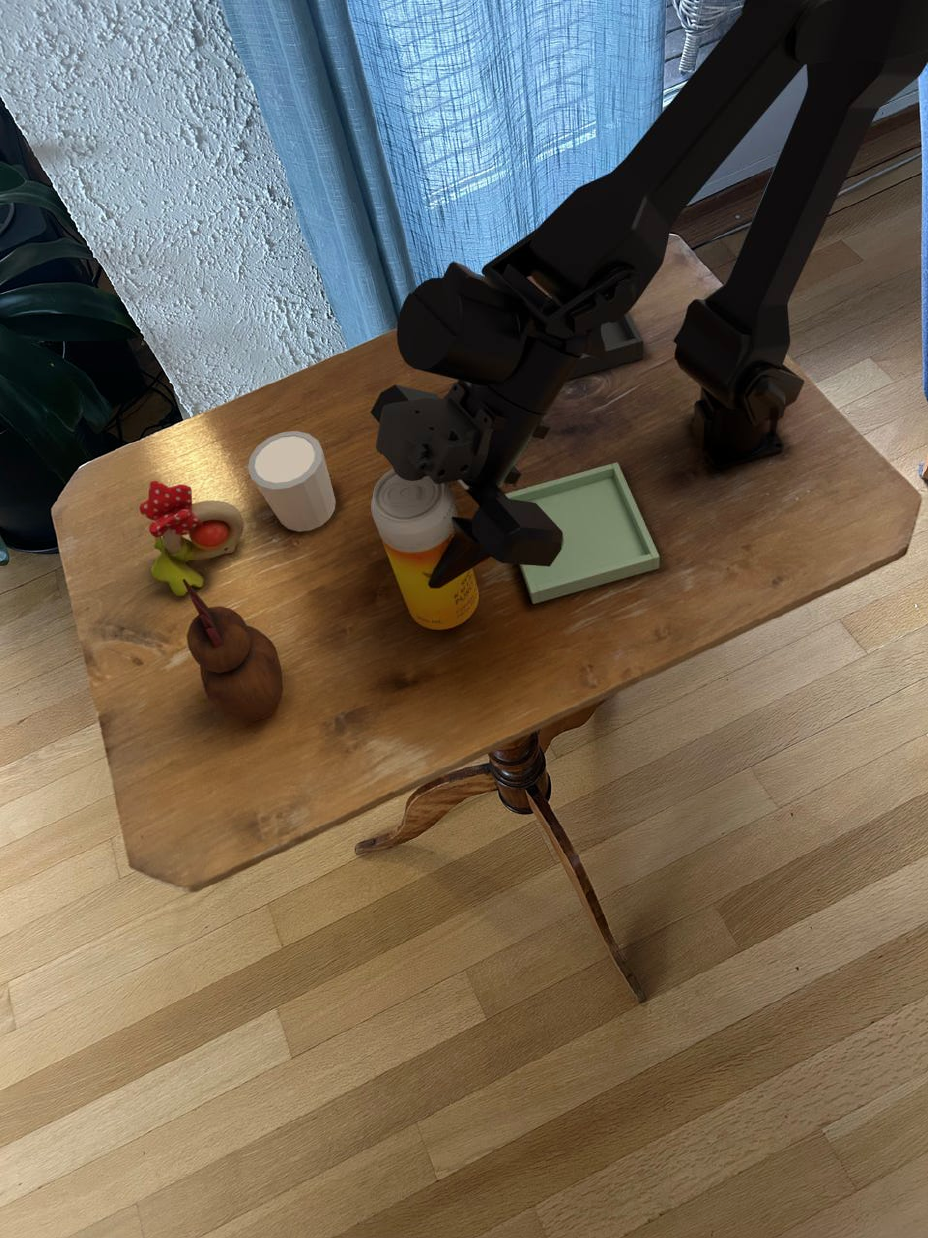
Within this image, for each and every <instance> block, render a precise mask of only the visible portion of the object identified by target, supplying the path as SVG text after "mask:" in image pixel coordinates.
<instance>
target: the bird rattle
mask: <svg viewBox="0 0 928 1238" xmlns="http://www.w3.org/2000/svg"><path fill="white" fill-rule="evenodd" d="M139 512H140V514H141V515H143V516H144V517H145V518H147V519H148V520H151V521H153V522H151V523H150V524H149V526H148V531H149V533H150V535H151V536H152V537H154V541H155V542H154V545H153V547H154V548H155V549H156V550H158V551H159V552H160V554H159V555H158V557H157V558H156V559H155V562H154V563H153V564H152V566H151V568H150V573H151V576H152V578H154V579H156V580H157V581H159V582H167V583H168V585H169V587H170V589H171V591H172V592H173V593H174V595H176V596H178V597H183V596H185V595H187V593H188V590H187V589H186V587H185V585H184V583H183V581H182V580H183V579H185V580H186V581H187V582H188V584H189V585H190V586H191V587H192V586H193V587H195V588H203V585H204V578H203V576H202V575H201V574H199V573H198V572H197V571H195V570H194V569H193V568H191V567H190V566H188V565H187V563H186V562H188V561H198V560H199V561H200V560H201V561H202V560H206V559H211V558H215V557H218V556H220V555H224V554H231V553H234V552H235V551H236V545H237V544H238V542H239V541H240V539H241V537H242V536H243V533H244V528H245V523H244V518H243V516H242V514H241V512H240V511H239V509H238V508H237V507H236V506H235V505H233V504H231V503H229V502H226V501H223V500H203V501H199V502H194V503H193V491H192V487H191V486H189V485H186V484H178V485H177V484H176V485H174V486H168V485H166V484H164V483H163V482H160V481H158V480H153V481H150V483H149V486H148V499H147V500H145V501H144V502H142V503H141V504H140V505H139ZM187 535H188V537H189V539H188V538H186V537H184V536H187Z"/></svg>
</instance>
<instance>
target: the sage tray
mask: <svg viewBox="0 0 928 1238" xmlns="http://www.w3.org/2000/svg"><path fill="white" fill-rule="evenodd" d="M504 494H505V495H506V496H507V497H508V498H509V499H512V500H519V501H527V502H534V503H537V504H538V506H539V507H540V508H541V509H542V510H543V511H544V512H545V513H546V514H547V515H548V516H549V518H550V519H551V520H552V521H553V522H554V523H555V524H556V525H557V526H558V527H559V528H560V529H561V531H562V532H563V540H564V543H563V547H562V550H561V551H560V553H559V554H558V555H557V557H556V558H555V560H554V561H553V563H552V564H551V566H550V567H548V566H534V565H520V564H518V565H519V568H520V571H521V573H522V577H523V579H524V583H525V585H526V588H527V592H528V594H529V598H530V600H531V602H532V605H534V604H538V603H539V604H540V603H542V602H545V601H549V600H553V599H556V598H559V597H562V596H566V595H570V594H574V593H577V592H580V591H584V590H589V589H591V588H595V587H599V586H602V585H606V584H609V583H612V582H616V581H619V580H623V579H626V578H630V577H633V576H634V577H635V576H638V575H640V574H644V573H648V572H652V571H654V570H657V569H660V554H659V552H658V550H657V548H656V545H655V543H654V540H653V538H652V536H651V534H650V532H649V529H648V527H647V525H646V523H645V521H644V519H643V516H642V514H641V512H640V509H639V506H638V505H637V502H636V500H635V498H634V496H633V493H632V492H631V489H630V487H629V484H628V482H627V480H626V478H625V476H624V473H623V471H622V469H621V466H620V464H619V462H613V463H610V464H606V465H601V466H599V467H595V468H592V469H588V470H585V471H582V472H576V473H573V474H571V475H567V476H564V477H560V478H556V479H552V480H549V481H546V482H543V483H539V484H536V485H532V486H528V487H525V488H521V489H518V490H514V491H510V492H508V493H504Z"/></svg>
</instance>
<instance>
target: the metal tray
mask: <svg viewBox="0 0 928 1238" xmlns="http://www.w3.org/2000/svg"><path fill="white" fill-rule="evenodd" d="M546 295H547V296H548V297H549V298H551V299H552V300H553V301H554V302H555V303H556V304H557V305H559V306H560V307H563V306H562V305H561V304H560V303H558V302H557V301H556V300H555V299H554V298H553V297H552V296H550V295H549V294H546ZM601 335H602V339H603V341H604V345H605V349H606V355H605V356H604V357H603V358H602V359H598V358H595V357H592V356H588V355H585V354H583V355H582V356H581V358H580V360H579V361H578V363H577V365H576V366H575V368H574V369H573V371H572V373H571V374H570V376H569V377H568V379H567V381H568V380H572V379H576V378H579V377H582V376H585V375H586V376H587V375H589V374H593V373H597V372H600V371H604V370H607V369H611V368H614V367H618V366H622V365H624V364H625V365H626V364H628V363H633V362H635V361H639V360H643V359H644V339H643V337H642V335H641V333H640V331H639V329H638V327H637V326H636V324H635V322H634V319H633V318H632V316H631V314H630V311H628V312H627V313H626V314H625V315H624V316H623V317H622V318H621V319H619V320H618V321H616V322H615V323H610V322H608V323H605V324H603V325H601Z"/></svg>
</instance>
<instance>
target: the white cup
mask: <svg viewBox="0 0 928 1238" xmlns="http://www.w3.org/2000/svg"><path fill="white" fill-rule="evenodd" d="M247 471H248V473H249V475H250V478H251V480H252V482H253V483H254V484H255V487H256V488H257V490H259V492H260V494H261V495H262V497H263V498H264V500H265V501H266V502H267V504H268V506H269V507H270V509H271V510H272V512H273V514H275V516H276V518H277V519H278V521H279V522H280V524H281V525H283V526H284V527H285V528H286V529H287V530H289V531H290V530H291V531H295V532H299V533H300V532H310V531H313V530H316V529H317V528H320V527H322V526H323V525H325V524H326V523H327V522H328V521H329V520H330V519H331V517H332V516H333V514H334V512H335V510H336V502H337V501H336V497H335V493H334V488H333V485H332V482H331V478H330V474H329V470H328V466H327V461H326V457H325V454H324V450H323V448H322V446H321V443H320V441H319V440H318V439H317V438H315V437H314V436H313V435H311V434H310V433H308V432H303V431H298V430H292V431H282V432H280V433H277V434H275V435H272V436H270V437H269V436H268V438H266V439H265V440H264V441H262V442H261V443H259V444H258V445H257V446H256V448H255V449H254V451H253V452H252V454H251V455H250V456H249V460H248V466H247Z"/></svg>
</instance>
